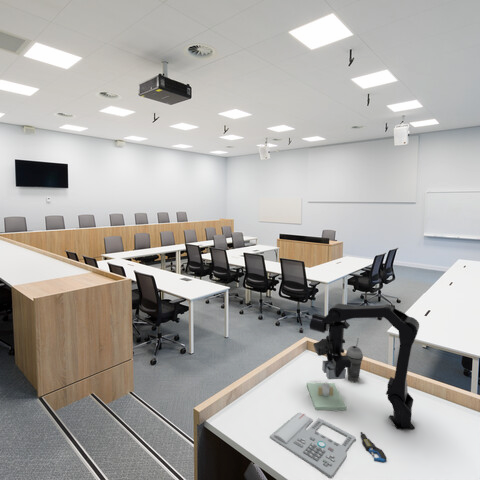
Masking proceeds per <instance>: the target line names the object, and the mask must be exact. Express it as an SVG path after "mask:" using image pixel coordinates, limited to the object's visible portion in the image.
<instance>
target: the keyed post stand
mask: <svg viewBox="0 0 480 480" xmlns="http://www.w3.org/2000/svg"><path fill="white" fill-rule="evenodd" d="M306 387H307V390H308V393H309V395H310V399H311V402H312V404H313V407H314V409H315V411H347V405H346V404H345V402H344V400H343V399H344V398H342V396H341V394H340V391H339V390H338V388H337V386H336V384H335V383H334V382H307V383H306Z"/></svg>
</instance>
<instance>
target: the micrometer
mask: <svg viewBox="0 0 480 480" xmlns="http://www.w3.org/2000/svg"><path fill="white" fill-rule="evenodd" d="M360 438H361V440H362V441H361V443H362V446H363V447H364V449H365V451H366V452H369V454H371V455H372V457H373V461H375V462H376V461H377V462H381V463H385V462H387V459H388V458H387V456H386V454H385V453H384V450H382V449H381V448H379V447H377V446H376V445H375V443H373V442H372V440H371V439H370V438H368V437H367V435H366V433H365V432H362V431H361V432H360ZM375 454H377V456H378V457H375Z"/></svg>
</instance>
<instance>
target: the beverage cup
mask: <svg viewBox="0 0 480 480" xmlns="http://www.w3.org/2000/svg"><path fill="white" fill-rule="evenodd" d="M358 344H359V338H357V339H356V343H355V345H351V346H349V347H347V349H346V353H345V355H346V356H347V357H348V358H349V359H350V360H351V362H352V366H351V367H348V368H346V373H347V375H346V376H347V380H348V381H349V382H351V383H357V382H359V378H360V373H361V365H362V361H363V358H364V354H363V351H362V349H361V348H360V347H359V346H358Z"/></svg>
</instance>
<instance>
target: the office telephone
mask: <svg viewBox="0 0 480 480" xmlns="http://www.w3.org/2000/svg"><path fill="white" fill-rule="evenodd" d="M313 421H314V420H313V418H312V417H309V416H308V415H306V414H305V413H303V412H297V413H296V414H295V415H293V416H292V417H291V418H290V419H288V420H287V421H286V422H284V423H283V424H282V425H281V426H280V427H278V429H276V430H274V432H273V433H271V434H269V438H270V439H271V440H272V441H274V442H275V443H277V444H278V445H280V446H282V447H283V448H285V449H286V450H287V451H289V452H290V453H292V454H294V455H296V456H297V457H298V458H300V459H301V460H303V461H304V462H306V463H307V464H309V465H310V466H312V467H314V468H315V469H317V470H318V471H319V472H321V473H322V474H324V475H325V476H326V477H328V478H329V479H333V477H334V476H335V475H336V473H337V472H338V470H339V469H340V467H341V466H342V464H344V462H345V461H346V458H347V455H348V453H347V452H348V451H349V449H350V447H351V446H352V445H353V444H354V442H356V440H357V439H356V438H357V437H356V436H354V435H353V434H351V433H349V432H347V431H345V430H343V429H342V428H340V427H338V426H336V425H333V424H332V423H331V422H327V421H325V420H324V419H322V418H320V417H318V418H317V419H316V420H315V422H314V423H313ZM311 424H312V425H311ZM321 426H325V427H327V428H329V429H331V430H333V431H335V432H336V433H338V434H340V435H342V436H344V437H346V438H345V440H344V441H343V442H342V443H338V442H337V441H335V440H333V439H330V438H329V437H327V436H325V435H324V434H321V433H319V432H318V430H319V429H320V428H321Z"/></svg>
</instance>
